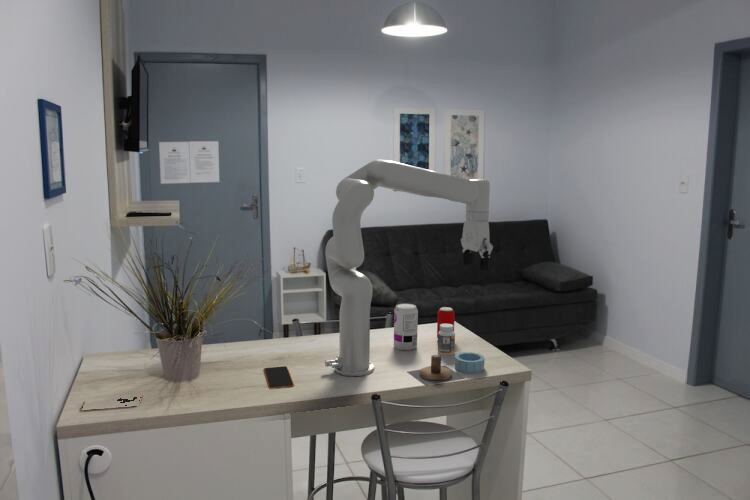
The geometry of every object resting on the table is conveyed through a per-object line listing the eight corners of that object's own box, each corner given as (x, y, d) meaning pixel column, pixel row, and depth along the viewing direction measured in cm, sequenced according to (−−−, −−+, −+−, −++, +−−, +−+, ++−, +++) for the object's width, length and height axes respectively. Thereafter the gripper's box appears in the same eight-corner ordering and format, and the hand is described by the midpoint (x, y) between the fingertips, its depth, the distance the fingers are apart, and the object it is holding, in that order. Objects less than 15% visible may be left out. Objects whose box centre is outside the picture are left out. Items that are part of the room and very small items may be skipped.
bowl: (464, 375, 194) (465, 363, 194) (449, 366, 202) (449, 354, 202) (489, 371, 198) (490, 359, 197) (473, 362, 206) (473, 350, 206)
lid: (429, 383, 187) (430, 364, 186) (413, 371, 196) (414, 353, 195) (458, 378, 192) (458, 359, 191) (441, 367, 200) (441, 349, 199)
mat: (425, 386, 186) (425, 385, 186) (406, 372, 196) (406, 371, 196) (465, 379, 192) (465, 378, 191) (445, 366, 202) (445, 365, 202)
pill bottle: (455, 356, 212) (456, 327, 210) (438, 355, 212) (439, 327, 211) (453, 350, 218) (454, 323, 216) (436, 350, 218) (437, 322, 216)
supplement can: (391, 349, 218) (391, 308, 215) (397, 342, 226) (397, 302, 223) (413, 352, 216) (414, 310, 213) (419, 344, 223) (420, 304, 221)
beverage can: (443, 344, 224) (444, 311, 222) (433, 339, 230) (434, 307, 228) (457, 341, 227) (458, 309, 225) (447, 336, 233) (448, 305, 231)
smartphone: (269, 390, 183) (269, 387, 182) (263, 370, 198) (263, 367, 198) (294, 387, 185) (294, 385, 184) (287, 368, 200) (287, 365, 200)
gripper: (453, 214, 214) (452, 263, 217) (482, 220, 199) (480, 272, 202) (471, 213, 217) (470, 261, 220) (502, 218, 202) (499, 270, 205)
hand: (475, 266), depth 211 cm, fingers open, 9 cm apart
